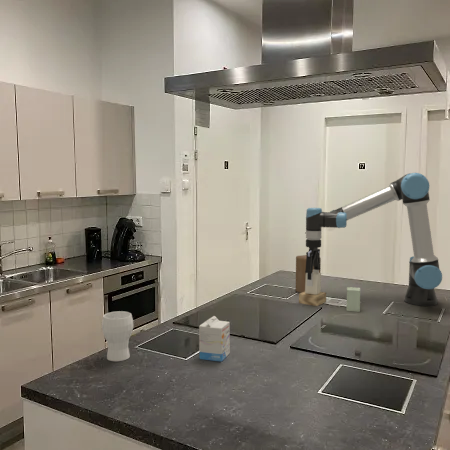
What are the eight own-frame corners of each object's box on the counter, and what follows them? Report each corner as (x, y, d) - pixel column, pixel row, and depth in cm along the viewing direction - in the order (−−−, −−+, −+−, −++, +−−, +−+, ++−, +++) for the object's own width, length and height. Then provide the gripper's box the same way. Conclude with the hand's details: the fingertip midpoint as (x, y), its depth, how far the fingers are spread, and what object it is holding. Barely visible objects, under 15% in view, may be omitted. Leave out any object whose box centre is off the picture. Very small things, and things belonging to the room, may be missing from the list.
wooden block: (294, 291, 254) (295, 255, 252) (309, 289, 259) (310, 254, 257) (305, 295, 245) (305, 258, 243) (320, 293, 250) (321, 257, 248)
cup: (133, 362, 156) (132, 318, 155) (101, 364, 155) (99, 320, 153) (134, 350, 167) (133, 310, 165) (104, 352, 165) (102, 311, 164)
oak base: (326, 302, 233) (326, 292, 232) (317, 306, 225) (317, 296, 224) (308, 299, 239) (308, 290, 238) (298, 303, 231) (298, 293, 230)
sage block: (359, 308, 221) (360, 287, 220) (359, 311, 215) (360, 290, 214) (346, 307, 223) (346, 287, 222) (346, 310, 217) (346, 290, 216)
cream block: (320, 292, 232) (321, 273, 232) (316, 294, 227) (317, 274, 227) (309, 291, 235) (309, 271, 235) (305, 293, 230) (305, 273, 230)
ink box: (221, 362, 156) (221, 323, 155) (198, 359, 159) (198, 321, 158) (230, 353, 164) (230, 316, 163) (208, 350, 167) (208, 314, 166)
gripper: (313, 236, 240) (312, 279, 242) (298, 241, 222) (298, 287, 224) (327, 237, 236) (326, 281, 238) (313, 242, 218) (313, 289, 220)
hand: (312, 284), depth 231 cm, fingers open, 8 cm apart
